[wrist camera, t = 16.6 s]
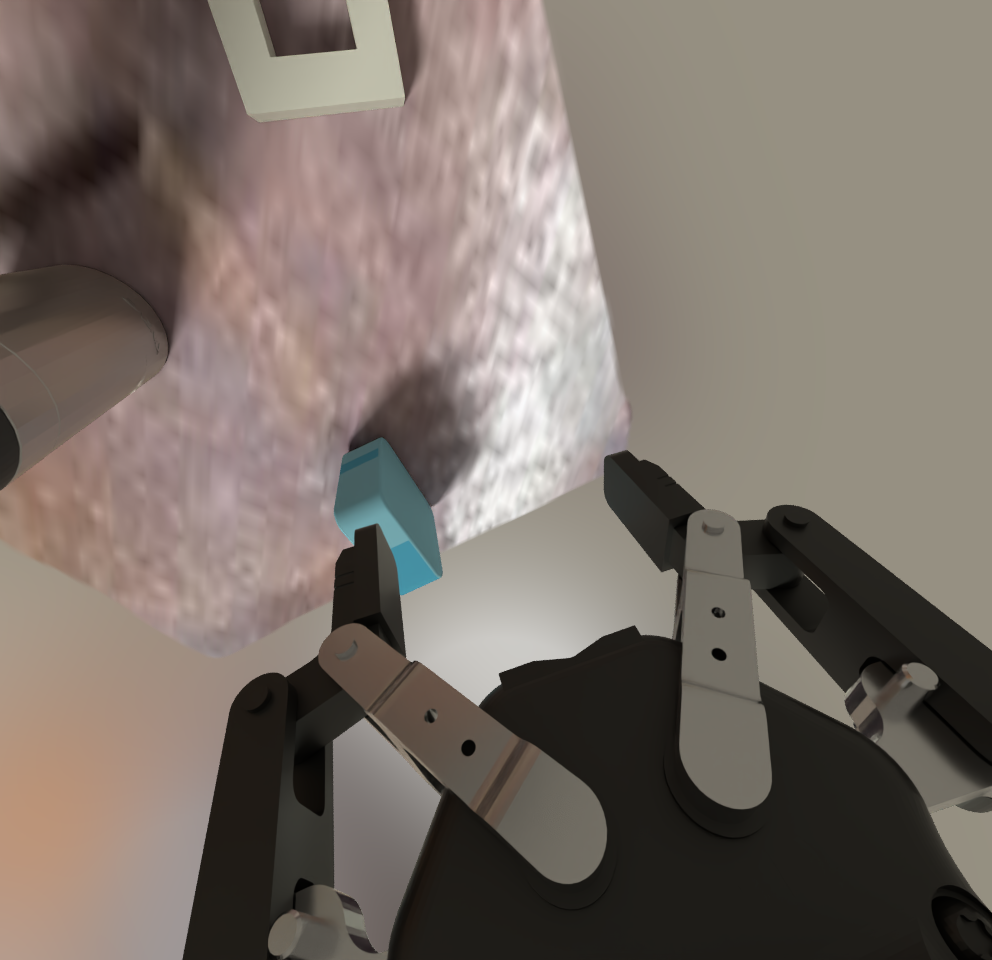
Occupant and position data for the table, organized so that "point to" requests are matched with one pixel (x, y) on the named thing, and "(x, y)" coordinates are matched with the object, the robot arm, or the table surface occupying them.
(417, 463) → the table surface
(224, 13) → the holster
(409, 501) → the data package
